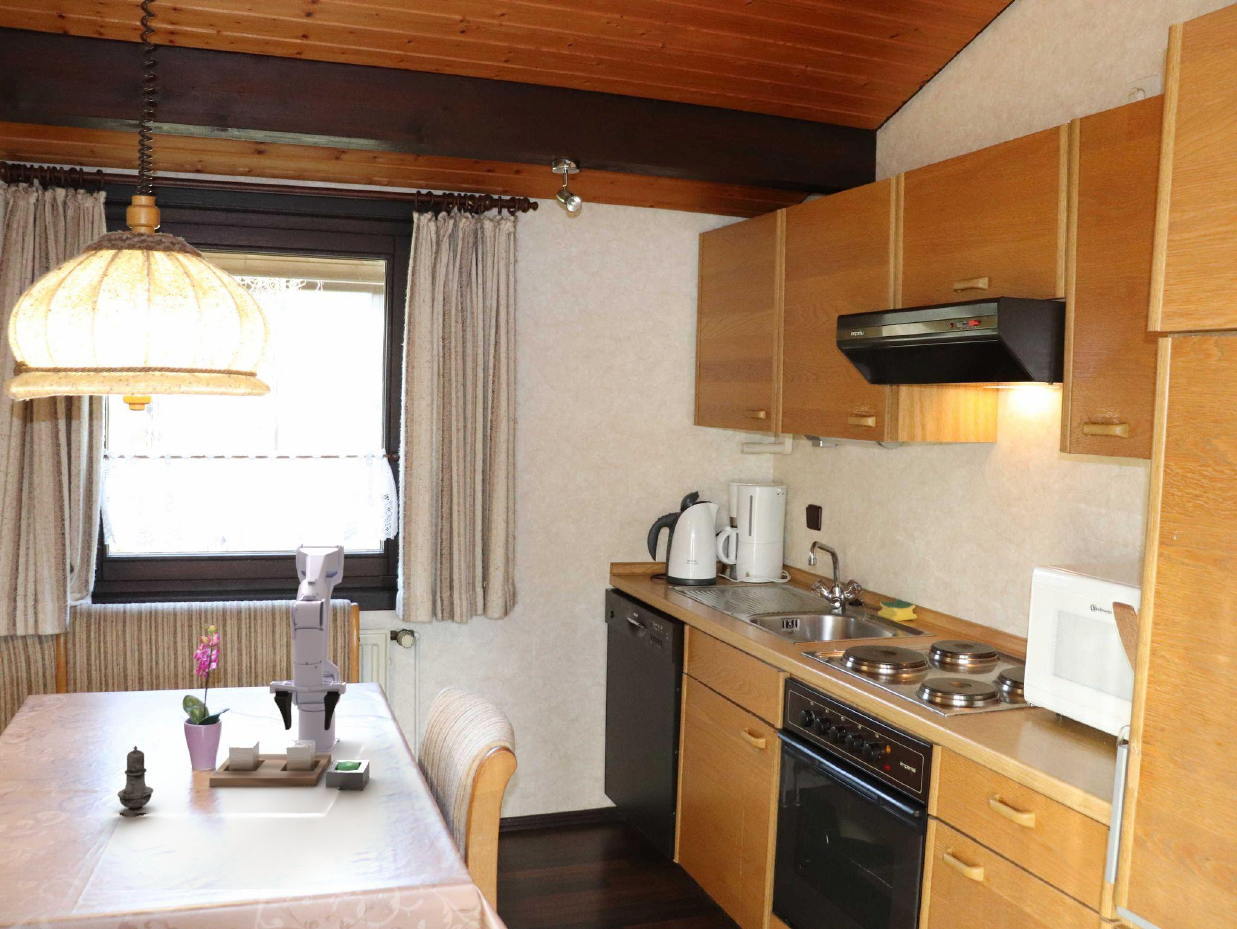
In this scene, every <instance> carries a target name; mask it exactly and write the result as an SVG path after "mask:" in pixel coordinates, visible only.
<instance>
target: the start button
mask: <svg viewBox="0 0 1237 929" xmlns="http://www.w3.org/2000/svg"><path fill="white" fill-rule="evenodd" d="M358 769H359V763H358V762H355V761H345V762H341V763H339V764H338V770H358Z"/></svg>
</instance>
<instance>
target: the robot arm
mask: <svg viewBox="0 0 1237 929" xmlns="http://www.w3.org/2000/svg"><path fill="white" fill-rule="evenodd" d="M295 550H296V551H295V552H296V553H295V567H296V570H297V577H298V579H299V583H300V584H299V585H298V588H297V589H298V590H297V596H296V599H295V600H296V601H295V604H294V603H291V607H290V619H289V620H290V627H291V639H292V640H293V644H292V645H293V651H292V653H293V654H292V655H293V656H292V658H293V660H292V661H293V664H292V666H293V667H292V670H293V671H292V676H293V678H292V680H280V681H274V680H273V681H272V682H270V684H269V694H270V695H271V694H274V696H273V700H274V702H275V704H276V706H277V708H278V710H279V712H280V715H281V716H282V717H281V718H282V720H283V725H284V730H285V731H289V730H290V729H291V728H292V720H293V719H292V717H293V716H292V705H294V706H295V707H296V706H297V709H296V710H298V740H315V752H330V751H331V752H332V750H333V748H334V747H335V745H336V744H337V743H338V742H339V741H340V737H339V736H336V706H337V705H338V704H339V703H340V701H341V695H345V694H346V692H347V682H346V681H341V671H340V669H339V667H338V665H336V664H335V663H333V662H332V661H331V660H329V645H330V644H329V643H330V642H329V641H330V621H331V620H330V619H331V617H330V616H331V615H330V614H331V596H332V593H333V590H334V588H335V587H334V586H337V585H338V584H340V583H342V579H343V577H344V565H345V564H344V563H345V562H344V560H345V548H344V544H342V542H338V543H303V542H299V544H297V546H296V549H295Z"/></svg>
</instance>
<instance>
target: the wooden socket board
mask: <svg viewBox="0 0 1237 929" xmlns="http://www.w3.org/2000/svg"><path fill="white" fill-rule="evenodd" d="M331 764H332V754H331V753H325V754H324V753H315V770H314V771H287V753H259V769H258V770H257V771H229V756H228V757H227V759H225V760H224V762H223V763H221V765H220V766H219V767H218V768H217V769H216V770H215V771H214V772H213V774H211V775H210V777H209V782H208V784H209V786H208V787H213V788H215V787H222V788H223V787H227V788H228V787H231V788H232V787H238V788H239V787H243V788H244V787H247V788H248V787H251V788H252V787H257V788H258V787H266V788H267V787H268V788H269V787H270V788H271V787H279V788H280V787H282V788H283V787H284V788H285V787H290V788H292V787H297V788H298V787H300V788H301V787H302V788H303V787H310V788H311V787H312V788H314V787H317V786H318V784H319V783H320V780H321V779H322V777H323V776H324V774H326V772H327V770H328V768H329V767H330V765H331Z"/></svg>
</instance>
